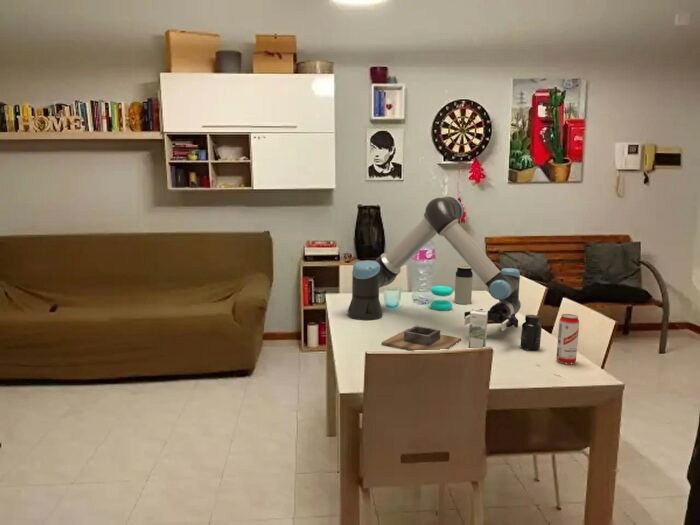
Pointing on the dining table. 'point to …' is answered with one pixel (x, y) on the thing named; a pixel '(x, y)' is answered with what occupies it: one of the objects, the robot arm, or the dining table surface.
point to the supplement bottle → (531, 333)
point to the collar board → (421, 339)
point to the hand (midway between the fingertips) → (483, 324)
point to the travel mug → (463, 284)
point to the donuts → (441, 304)
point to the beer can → (567, 338)
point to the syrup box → (478, 328)
